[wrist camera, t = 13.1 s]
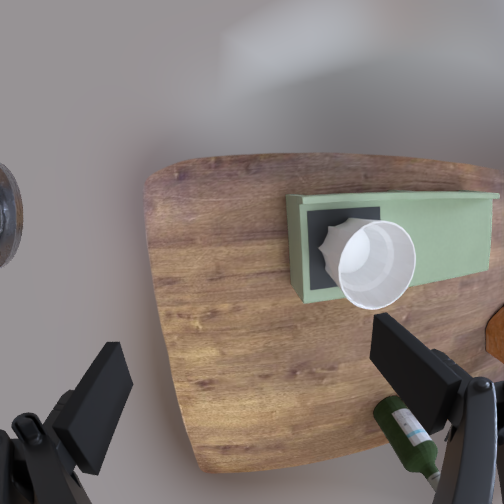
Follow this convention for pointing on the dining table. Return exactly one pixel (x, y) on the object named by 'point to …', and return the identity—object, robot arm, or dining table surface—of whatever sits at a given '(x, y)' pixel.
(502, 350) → the bread
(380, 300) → the cup
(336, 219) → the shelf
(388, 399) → the wine bottle
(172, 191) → the dining table surface
